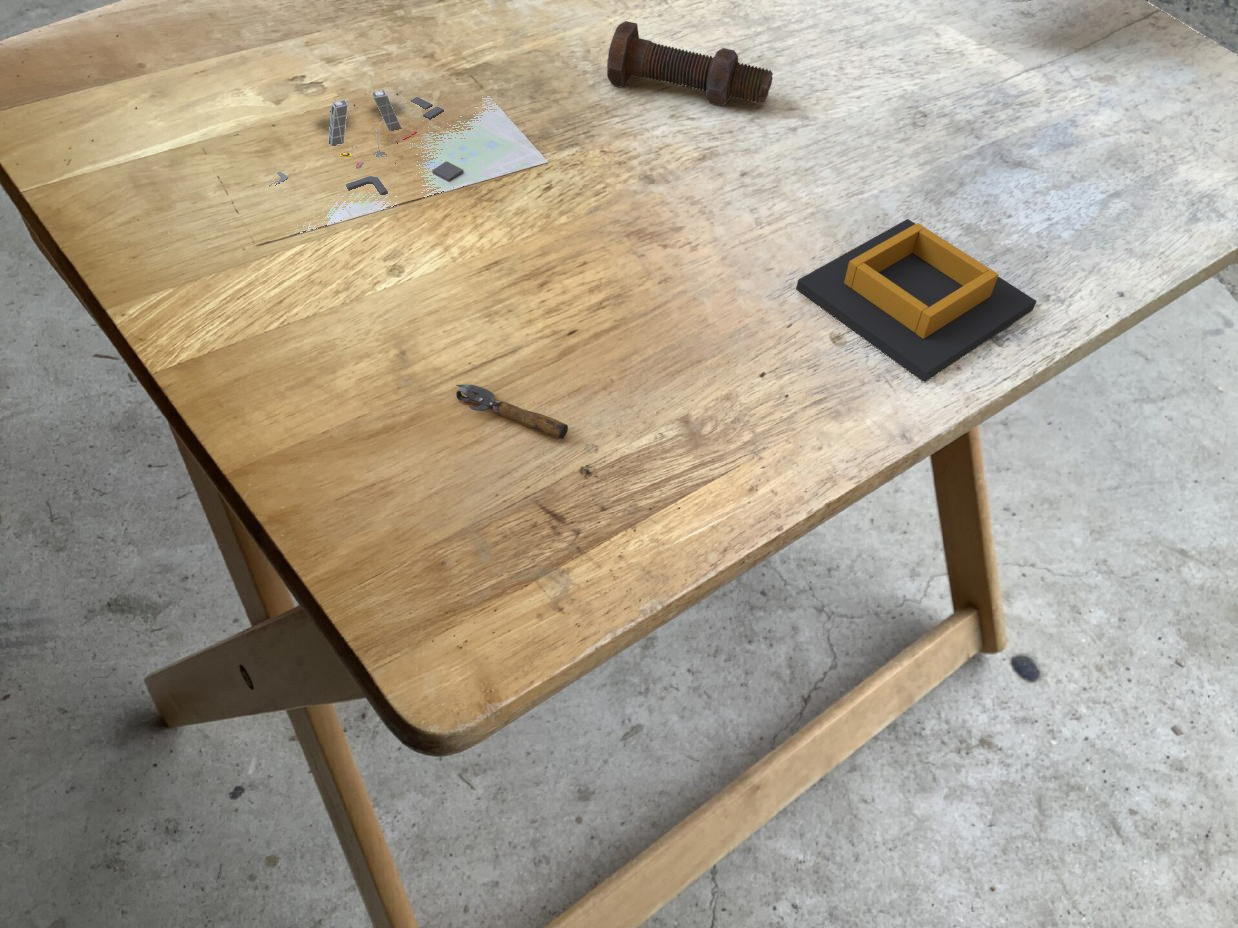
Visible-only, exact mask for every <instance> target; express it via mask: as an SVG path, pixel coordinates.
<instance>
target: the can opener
mask: <svg viewBox="0 0 1238 928" xmlns="http://www.w3.org/2000/svg"><path fill="white" fill-rule="evenodd" d="M455 387H459V389H458V390H457V391H456V395H455V397H456V399H457V400H458V401H460V402H465V403H466V402H467V403H468V402H473V403H476V404H478V406H474V405H472V404H471V403H470V404H468V408H469V409H471V410H473V411H476V412H477V411H478V412H482V411H483V412H484V411H486V410H488V409H491V410H492V411H493V413H494V414H496V415H497V416H499V417H501V418H505V419H506V420H507V419H508V420H510V421H513V422H516V423H519V424H522V425H524V426H526V427H528V428H530V429H532V430H533V431H537V432H539V433H542V434H545V435H548V436H551V437H554V438H557V439H562V440H563V439H565V437H566V436H567V434H568V430H569V426H568V424H566V423H564V422H562V421H560V420H558V419H556V418H553V417H550V416H548V415H544V414H542V413H538V412H534V411H532V410H531V411H530V410H528V409H524V408H521V407H519V406H516V405H514V404H512V403H509V402H506V401H501V400H496V401H495V395H494V393H493V392H492V391H490V390H489V389H486V388H485V387H482V386H479V385H475V384H466V383H465V384H455ZM464 395H465V396H464Z"/></svg>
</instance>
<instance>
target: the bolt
mask: <svg viewBox="0 0 1238 928" xmlns="http://www.w3.org/2000/svg"><path fill="white" fill-rule="evenodd" d="M638 26H639V25H638V23H636V22H632V21H628V20H625V21H623V22H621V23H620V24H618V25H617V26H616V28H615V31H614V33H613V36H612V37H611V38H612V39H611V42H610V45H609V49H608V54H607V63H606V76H607V79H608V81H609V82H610V83H611V85H612V86H615V87H619V88H623V89H624V88H625V87H626V85H627V83H628V82H629V80H630V79H631V77H635V78H640V79H649V80H652V81H657V82H663V83H664V82H665V83H669V84H672V85H676V86H678V85H679V87H681V86H682V87H685V86H686V88H689V89H693V90H697V91H699V90H700V92H702V91H703V92H704V93H705V97H706V99H707V101H708V102H709V104H710V105H711V104H712V105H716V106H720V107H723V106H724V105H725V104H727V103H728V102H729V100H730V98H731V99H733V98H734V99H738V100H739V101H740V100H741V101H745V102H747V101H748V102H749V103H752V104H754V103H755V104H759V105H761V103H762V104H763V103H765V102H766V100H767V98H768V96H769V93H770V90H771V86H772V83H773V75H774V73H773V71H772V70H771V69H768V68H764V67H761V66H760V67H758V66H757V65H756V66H755V65H751V64H748V65H747V63H745V64H744V63H743V62H742V63H740V62H739V55H738V54H737V52H736V50H734V49H731V48H725V47H722V48H720V49H718V50H717V51H716V53H715V55H714V56H712V55H709V54H707V55H706V54H705V53H704V54H702V53H701V52H700V53H698V52H695V51H691V50H687V49H681V48H678V47H674V46H670V45H669V46H667V45H664V44H661V43H657V42H653V41H652V40H649V39H644V38H641V37H640V35H639V27H638Z"/></svg>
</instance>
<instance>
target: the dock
mask: <svg viewBox="0 0 1238 928" xmlns="http://www.w3.org/2000/svg"><path fill="white" fill-rule="evenodd" d="M795 290H796V291H798V292H799V293H801V295H802V296H805V297H806V298H807V299H809V300H810V301H812V302H813V303H814V304H816V306H819V307H820V308H821V309H822V310H823V311H825V312H826V313H828V314H829V315H830V316H832V317H833V318H835V319H836V320H838V321H839V322H840V323H841V324H843V325H845V326H846V327H847V328H848V329H850V330H851V331H853V332H854V333H855V334H856V335H858V336H860V337H861V338H862V339H864V340H865V341H866V342H868V343H869V344H871V345H872V346H873V347H875V348H876V349H878V350H879V351H880V352H882V353H883V354H884V355H885V356H887V357H889V358H890V359H891V360H893V361H894V362H895V363H897V364H898V365H899V366H901V367H902V368H904V369H905V370H906V371H908V372H909V373H910V374H912V375H913V376H915V377H916V378H918V379H919V380H920V381H922V382H923V383H926V382H927V381H929V380H930V379H932V378H933V377H935V376H936V375H938V374H939V373H941V372H943V370H945V369H947V368H949V367H950V366H951V365H953V364H954V363H956V362H957V361H958V360H960V359H962V358H963V357H964V356H966V355H968V354H970V353H971V352H972V351H974V350H975V349H977V348H978V347H980V346H982V345H983V344H984V343H986V342H987V341H989V340H990V339H992V338H993V337H995V336H997V335H998V334H999V333H1001V332H1003V331H1005V329H1007V328H1008V327H1010V326H1011V325H1013V324H1015V323H1016V322H1018V321H1019V320H1020V319H1022V318H1023V317H1025V316H1027V315H1028V314H1030V313H1031V312H1033V311H1034V309H1035V306H1036V304H1037V299H1035V298H1033V297H1031V296H1030V295H1028V294H1027V293H1025V292H1023V291H1022V290H1020V289H1019V288H1018V287H1016V286H1014V285H1013V284H1011V283H1009V282H1008V281H1006V280H1005V279H1003V278H1002V277H1000V275H999V273H998V272H996V271H995V270H993V269H990V268H989V267H988V266H986V265H985V264H984V263H982V262H980V261H978V260H977V259H976V258H974V257H972V256H970V254H967V253H966V252H964V251H963V250H961V248H960V249H959V248H958V247H956V245H954V244H952V243H951V242H949V241H947V240H945V239H944V238H942V237H941V236H939V235H938V234H936V233H934V232H933V231H931V230H930V229H929V228H926V227H925V226H924V225H922V224H921V223H919V222H914V221H912V220H911V219H909V218H906V219H905V220H903V221H901V222H900V223H898V224H897V223H896V224H895V225H894V226H892V227H890V228H888V229H887V230H885V231H883V232H881V233H879V234H878V235H876V236H874V237H873V238H870V239H868V240H867V241H865V242H863V243H862V244H860V245H857V246H856V247H855V248H854V247H853V248H852V249H851V250H849V251H846V252H845V253H843V254H841V255H840V256H838V257H836V258H834V259H833V260H831V261H829V262H827V263H826V264H824V265H822V266H820V267H819V268H816V269H815V270H813V271H811V272H809V273H808V274H806V275H804V276H802V277H801V278H798V279H797V283H796V288H795Z"/></svg>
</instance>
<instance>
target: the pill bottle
mask: <svg viewBox="0 0 1238 928" xmlns="http://www.w3.org/2000/svg"><path fill="white" fill-rule="evenodd" d="M1002 1H1003V2H1007V3H1008V2H1009V3H1028V2H1032V1H1033V0H1002Z"/></svg>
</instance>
